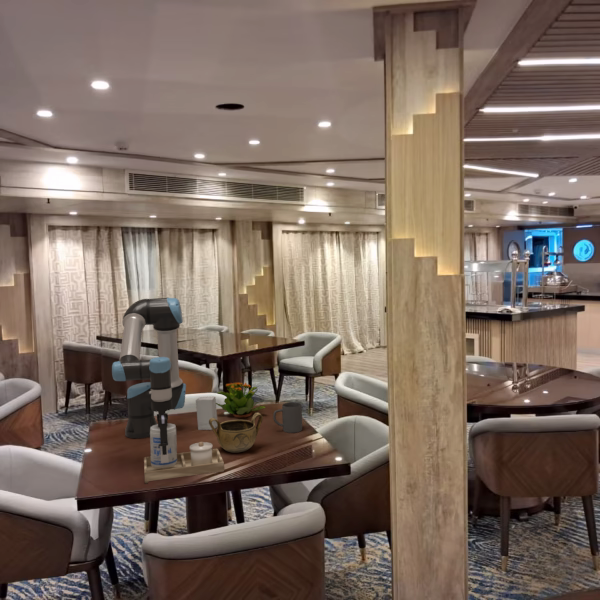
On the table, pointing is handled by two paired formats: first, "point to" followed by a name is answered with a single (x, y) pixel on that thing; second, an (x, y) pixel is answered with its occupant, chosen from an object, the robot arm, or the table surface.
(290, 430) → the mug
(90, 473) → the table surface
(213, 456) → the caddy
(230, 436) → the ceramic bowl
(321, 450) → the table surface
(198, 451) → the sugar pot
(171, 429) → the supplement tub
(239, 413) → the potted flower
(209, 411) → the skincare box
